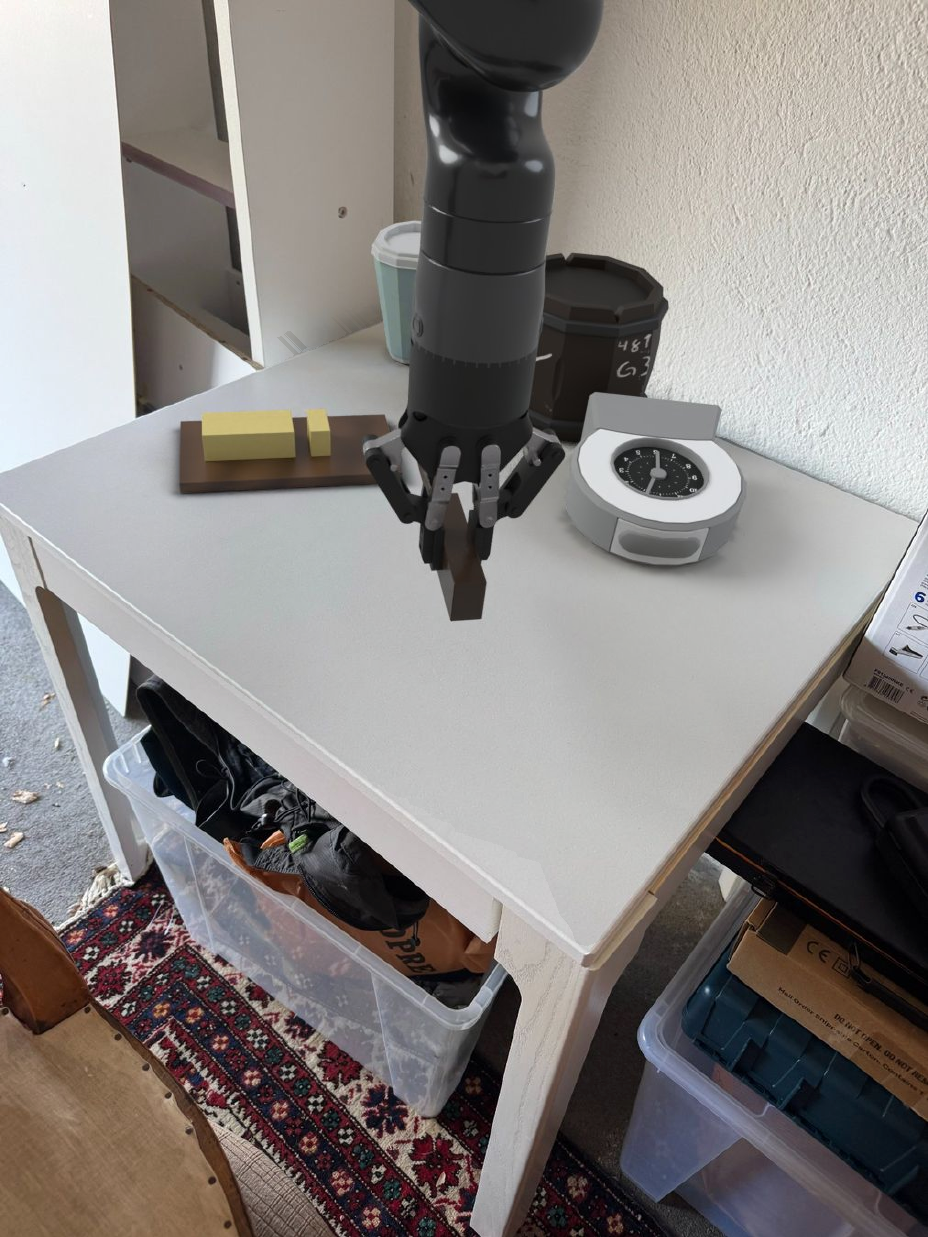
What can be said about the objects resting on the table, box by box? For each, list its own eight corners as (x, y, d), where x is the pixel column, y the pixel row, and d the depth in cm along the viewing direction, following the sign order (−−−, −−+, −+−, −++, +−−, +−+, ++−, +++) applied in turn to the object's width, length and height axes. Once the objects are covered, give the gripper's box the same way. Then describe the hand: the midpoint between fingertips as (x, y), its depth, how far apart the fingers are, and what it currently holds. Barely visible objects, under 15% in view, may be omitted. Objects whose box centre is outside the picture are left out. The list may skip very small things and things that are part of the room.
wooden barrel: (517, 360, 119) (533, 235, 108) (654, 394, 115) (684, 267, 104) (468, 423, 106) (481, 288, 95) (620, 463, 102) (651, 327, 91)
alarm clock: (738, 403, 96) (766, 525, 83) (716, 469, 102) (738, 592, 89) (573, 385, 96) (575, 504, 83) (561, 453, 102) (560, 573, 89)
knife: (481, 619, 63) (487, 582, 61) (450, 622, 62) (454, 584, 60) (427, 442, 78) (430, 406, 76) (401, 442, 78) (403, 407, 76)
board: (180, 493, 91) (178, 483, 90) (181, 430, 100) (180, 420, 99) (401, 482, 96) (402, 472, 95) (384, 423, 104) (384, 414, 103)
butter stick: (205, 461, 93) (202, 435, 91) (204, 438, 97) (201, 412, 95) (295, 457, 95) (294, 431, 93) (292, 434, 98) (291, 409, 96)
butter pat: (311, 456, 96) (310, 431, 94) (307, 434, 99) (306, 409, 97) (330, 456, 96) (330, 430, 94) (326, 433, 99) (325, 408, 97)
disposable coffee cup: (432, 381, 113) (439, 257, 103) (354, 359, 115) (354, 236, 105) (466, 348, 120) (477, 230, 110) (392, 328, 123) (396, 211, 113)
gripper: (570, 302, 58) (533, 526, 70) (350, 302, 55) (349, 535, 67) (607, 356, 53) (561, 590, 64) (364, 359, 50) (361, 603, 61)
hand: (453, 561), depth 65 cm, fingers closed on knife, 2 cm apart
